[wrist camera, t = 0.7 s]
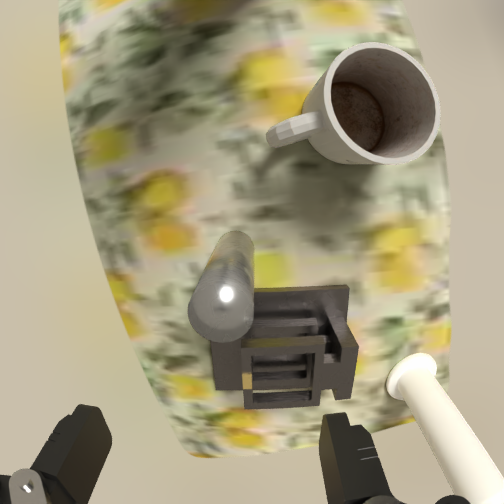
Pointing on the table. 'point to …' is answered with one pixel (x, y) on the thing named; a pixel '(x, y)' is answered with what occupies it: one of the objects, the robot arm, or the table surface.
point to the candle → (446, 431)
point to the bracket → (291, 348)
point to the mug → (367, 109)
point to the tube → (225, 291)
